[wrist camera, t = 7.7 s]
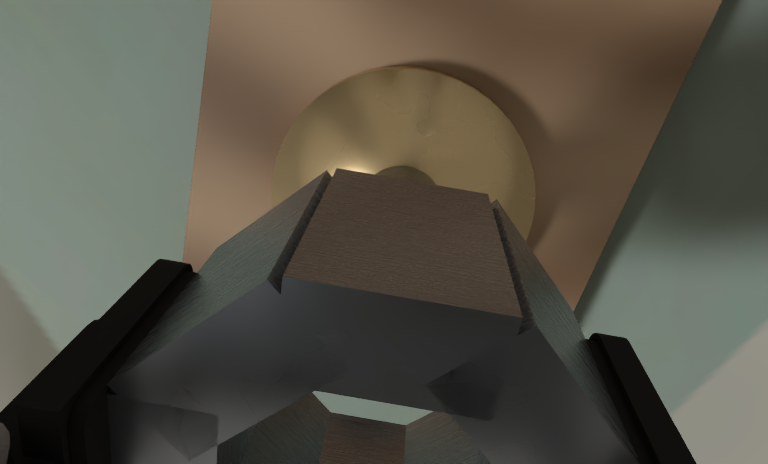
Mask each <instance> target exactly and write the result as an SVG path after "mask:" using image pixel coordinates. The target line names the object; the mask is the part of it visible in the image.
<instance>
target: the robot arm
mask: <svg viewBox="0 0 768 464" xmlns="http://www.w3.org/2000/svg"><path fill="white" fill-rule="evenodd" d="M195 275H196V272H193V268H192V265H191V264H188V263H182V262H176V261H171V260H165V259H159V260H157V261H156V262H155V263H154V264H153V265H152V266H151V267H150V268H149V269H148V270H147V271H146V272H145V273H144V274H143V275H142V276H141V277H140V278H139V279H138V280H137V281H136V282H135V283H134V284H133V285H132V286H131V288H130V289H129V290H128V291H127V292H126V293H125V294H124V295H123V296H122V297H121V298H120V299H119V300H118V301H117V302H116V303H115V304H114V305H113V306H112V307H111V308H110V309H109V310H108V311H107V312H106V313H105V314H104V315H103V316H102V317H101V318H100V319H98V320H94V321H92V322H91V323H90V324H88V325H87V326H86V327H85V328H84V329H83V330H82V331H81V332H80V333H79V334H78V335H77V336H76V337H75V338H74V339H73V340H72V341H71V342H70V343H69V344H68V345H67V346H66V347H65V348H64V349H63V350H62V351H61V352H60V353H59V354H58V355H57V356H56V357H55V358H54V359H53V360H52V361H51V362H50V363H49V364H48V365H47V366H46V367H45V368H44V369H43V370H42V371H41V372H40V373H39V374H38V375H37V376H36V377H35V378H34V379H33V380H32V381H31V383H29V384H28V385H27V386H26V387H25V388H24V389H23V390H22V391H21V392H20V393H19V394H18V395H17V396H16V397H15V398H14V399H13V401H11V402H10V403H9V404H8V405H7V406H6V407H5V408H4V409H3V410H2V411H1V412H0V464H112V461H111V447H110V432H109V418H108V404H107V395H108V393H109V392H110V391H111V390H112V389H111V388H110V387H109V386H107V384H108V383H109V382H110V380H111V379H112V378H113V377H114V375H115V374H116V373H117V372H118V370H119V369H120V368H121V367H122V365H123V364H124V363H125V362H126V360H127V359H128V358H129V357H130V355H131V354H132V353H133V352H134V350H135V349H136V348H137V347H138V345H139V344H140V343H141V342H142V341H143V339H144V338H145V337H146V336H147V334H148V333H149V332H150V331H151V329H152V328H153V327H154V326H155V324H156V323H157V322H158V321H159V319H160V318H161V317H162V316H163V314H164V313H165V312H166V311H167V309H168V308H169V307H170V306H171V304H172V303H173V302H174V301H175V299H176V298H177V297H178V296H179V294H180V293H181V292H182V291H183V289H184V288H185V287H186V286H187V285H188V283H189V282H190V281H191V280H192V278H193V277H194V276H195ZM586 342H587V344H588V346H589V349H590V351H591V353H592V355H593V358H594V360H595V362H596V364H597V367H598V369H599V371H600V374H601V376H602V378H603V380H604V383H605V385H606V387H607V390H608V392H609V394H610V396H611V399H612V401H613V403H614V405H615V408H616V410H617V412H618V415H619V417H620V419H621V421H622V424H623V426H624V428H625V430H626V433H627V435H628V437H629V439H630V442H631V444H632V446H633V448H634V451H635V453H636V455H637V458H638V460H639V462H640V464H696V462H695V461H694V459H693V457H692V455H691V453H690V451H689V449H688V448H687V446H686V444H685V442H684V440H683V439H682V437H681V435H680V433H679V431H678V430H677V428H676V426H675V425H674V423H673V421H672V419H671V417H670V415H669V414H668V412H667V410H666V408H665V406H664V404H663V403H662V401H661V399H660V397H659V395H658V393H657V392H656V390H655V388H654V386H653V384H652V383H651V381H650V379H649V377H648V375H647V373H646V372H645V370H644V368H643V366H642V364H641V363H640V361H639V359H638V357H637V355H636V353H635V352H634V350H633V348H632V346H631V344H630V343H629V341H628V340H627V339H626V338H623V337H617V336H611V335H605V334H599V333H594V334H592V335H591V337H590V338H589V339H586Z"/></svg>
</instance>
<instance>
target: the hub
mask: <svg viewBox="0 0 768 464" xmlns="http://www.w3.org/2000/svg"><path fill="white" fill-rule="evenodd" d="M337 168H340V169H345V170H351V171H357V172H363V173H369V174H375V175H380V176H386V177H392V178H398V179H404V180H410V181H415V182H421V183H427V184H433V185H439V186H445V187H450V188H456V189H462V190H468V191H474V192H479V193H485V194H488V196H489V199H490V203H491V202H493V201H495V200H496V199H497V200H498V202H499V203H500V205H501V206H502V208H503V209H504V211H505V212H506V214H507V215H508V216H509V218H510V219H511V221H512V222H513V224H514V225H515V227H516V228H517V230H518V231H519V232H520V234H521V235H522V237H523V238H524V240H525V241H526V240H527V237H528V234H529V231H530V228H531V225H532V221H533V216H534V210H535V195H536V189H535V180H534V173H533V169H532V165H531V161H530V157H529V155H528V152H527V150H526V148H525V145H524V143H523V141H522V139H521V137H520V135H519V134H518V132H517V130H516V129H515V127H514V125H513V124H512V122H511V120H510V119H509V118H508V116H507V115H506V114H505V113H504V112H503V110H502V109H501V108H500V107H499V106H498V105H497V104H496V103H495V102H494V101H493V100H492V99H491V98H490V97H489V96H488V95H487V94H485V93H484V92H482V91H481V90H479V89H478V88H477V87H475V86H474V85H472V84H470V83H468V82H467V81H465V80H463V79H461V78H459V77H457V76H454V75H451V74H449V73H446V72H443V71H440V70H436V69H431V68H426V67H422V66H408V65H398V66H384V67H379V68H374V69H370V70H366V71H363V72H360V73H357V74H354V75H352V76H349V77H347V78H345V79H343V80H342V81H340V82H338V83H336V84H334V85H333V86H331V87H330V88H328V89H327V90H326V91H324V92H323V93H321V94H320V95H319V96H318V97H317V98H316V99H315V100H314V101H313V102H312V103H311V104H309V105H308V106H307V107H306V108H305V109H304V111H303V112H302V113H301V114H300V115H299V117H298V118H297V119H296V120H295V122H294V123H293V124H292V126H291V127H290V129H289V131H288V133H287V134H286V136H285V138H284V139H283V142H282V144H281V147H280V149H279V152H278V154H277V158H276V161H275V165H274V169H273V177H272V205H273V208H274V207H275V206H277V205H278V204H280V203H281V202H282V201H284V200H285V199H287V198H288V197H289V196H291V195H292V194H294V193H295V192H297V191H298V190H299V189H301V188H302V187H304V186H305V185H306V184H308V183H309V182H311V181H312V180H314V179H315V178H316V177H318V176H319V175H321V174H322V173H323V172H325V171H326V170H327V171H328V172H329V174H330V175H331V176H332V177H333V175H334V173H335V171H336V169H337Z"/></svg>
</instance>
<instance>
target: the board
mask: <svg viewBox="0 0 768 464" xmlns="http://www.w3.org/2000/svg"><path fill="white" fill-rule="evenodd" d="M721 2H722V0H212V9H211V17H210V26H209V35H208V44H207V52H206V61H205V70H204V79H203V87H202V96H201V105H200V114H199V122H198V131H197V140H196V149H195V157H194V166H193V175H192V184H191V192H190V201H189V210H188V219H187V227H186V236H185V245H184V254H183V262H182V263H188V264H191V265H192V268H193V272H196V273H197V272H198V271H199V270H200V268H201V267H202V266H203V265H204V263H205V262H206V261H207V260H208V258H209V257H210V256H211V255H212V253H213V252H214V251H215V250H216V248H217V247H219V246H220V245H222V244H223V243H224V242H226V241H227V240H229V239H230V238H232V237H233V236H234V235H236V234H237V233H239V232H240V231H241V230H243V229H244V228H246V227H247V226H248V225H250V224H251V223H253V222H254V221H256V220H257V219H258V218H260V217H261V216H263V215H264V214H265V213H267V212H268V211H270V210H271V209H273V205H272V177H273V169H274V165H275V161H276V158H277V154H278V152H279V149H280V147H281V144H282V142H283V139H284V138H285V136H286V134H287V133H288V131H289V129H290V127H291V126H292V124H293V123H294V122H295V120H296V119H297V118H298V117H299V115H300V114H301V113H302V112H303V111H304V109H305V108H306V107H307V106H308V105H309V104H311V103H312V102H313V101H314V100H315V99H316V98H317V97H318V96H319V95H320V94H321V93H323V92H324V91H326V90H327V89H328V88H330V87H331V86H333V85H334V84H336V83H338V82H340V81H342V80H343V79H345V78H347V77H349V76H352V75H354V74H357V73H360V72H363V71H366V70H370V69H374V68H379V67H384V66H398V65H408V66H422V67H426V68H431V69H436V70H440V71H443V72H446V73H449V74H451V75H454V76H457V77H459V78H461V79H463V80H465V81H467V82H468V83H470V84H472V85H474V86H475V87H477V88H478V89H479V90H481V91H482V92H484V93H485V94H487V95H488V96H489V97H490V98H491V99H492V100H493V101H494V102H495V103H496V104H497V105H498V106H499V107H500V108H501V109H502V110H503V112H504V113H505V114H506V115H507V116H508V118H509V119H510V120H511V122H512V124H513V125H514V127H515V129H516V130H517V132H518V134H519V135H520V137H521V139H522V141H523V143H524V145H525V148H526V150H527V152H528V155H529V157H530V161H531V165H532V169H533V173H534V180H535V189H536V195H535V210H534V216H533V221H532V225H531V228H530V231H529V234H528V237H527V240H526V243H527V244H528V246H529V247H530V248H531V250H532V251H533V253H534V254H535V256H536V257H537V259H538V260H539V262H540V263H541V264H542V266H543V267H544V269H545V270H546V272H547V273H548V275H549V276H550V278H551V279H552V280H553V282H554V283H555V285H556V286H557V288H558V289H559V291H560V292H561V294H562V295H563V296H564V298H565V299H566V301H567V302H568V304H569V305H570V307H571V308H572V310H573V312H574V309H575V307H576V305H577V303H578V301H579V299H580V297H581V295H582V293H583V291H584V289H585V286H586V284H587V282H588V280H589V278H590V276H591V274H592V272H593V270H594V268H595V266H596V263H597V261H598V259H599V257H600V255H601V253H602V251H603V249H604V247H605V245H606V243H607V240H608V238H609V236H610V234H611V232H612V230H613V228H614V226H615V224H616V222H617V220H618V217H619V215H620V213H621V211H622V209H623V207H624V205H625V203H626V201H627V199H628V197H629V194H630V192H631V190H632V188H633V186H634V184H635V182H636V180H637V178H638V176H639V174H640V171H641V169H642V167H643V165H644V163H645V161H646V159H647V157H648V155H649V153H650V151H651V148H652V146H653V144H654V142H655V140H656V138H657V136H658V134H659V132H660V130H661V127H662V125H663V123H664V121H665V119H666V117H667V115H668V113H669V111H670V109H671V107H672V104H673V102H674V100H675V98H676V96H677V94H678V92H679V90H680V88H681V86H682V84H683V81H684V79H685V77H686V75H687V73H688V71H689V69H690V67H691V65H692V63H693V61H694V58H695V56H696V54H697V52H698V50H699V48H700V46H701V44H702V42H703V40H704V38H705V35H706V33H707V31H708V29H709V27H710V25H711V23H712V21H713V19H714V17H715V15H716V12H717V10H718V8H719V6H720V4H721Z"/></svg>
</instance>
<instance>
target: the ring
mask: <svg viewBox="0 0 768 464" xmlns="http://www.w3.org/2000/svg"><path fill="white" fill-rule="evenodd" d="M107 386H109V387H110V388H111V389H112V390H111V391H110V392H109V393H108V395H107V404H108V418H109V432H110V447H111V461H112V464H640V462H639V460H638V458H637V455H636V453H635V451H634V448H633V446H632V444H631V442H630V439H629V437H628V435H627V433H626V430H625V428H624V426H623V424H622V421H621V419H620V417H619V415H618V412H617V410H616V408H615V405H614V403H613V401H612V399H611V396H610V394H609V392H608V390H607V387H606V385H605V383H604V380H603V378H602V376H601V374H600V371H599V369H598V367H597V364H596V362H595V360H594V358H593V355H592V353H591V351H590V349H589V346H588V344H587V342H586V339H585V337H584V335H583V333H582V330H581V328H580V326H579V324H578V321H577V319H576V317H575V314H574V312H573V310H572V308H571V307H570V305H569V304H568V302H567V301H566V299H565V298H564V296H563V295H562V294H561V292H560V291H559V289H558V288H557V286H556V285H555V283H554V282H553V280H552V279H551V278H550V276H549V275H548V273H547V272H546V270H545V269H544V267H543V266H542V264H541V263H540V262H539V260H538V259H537V257H536V256H535V254H534V253H533V251H532V250H531V248H530V247H529V246H528V244H527V243H526V241H525V240H524V238H523V237H522V235H521V234H520V232H519V231H518V230H517V228H516V227H515V225H514V224H513V222H512V221H511V219H510V218H509V216H508V215H507V214H506V212H505V211H504V209H503V208H502V206H501V205H500V203H499V202H498V200H497V199H496V200H495V201H493V202H491V203H490V199H489V196H488V194H485V193H479V192H474V191H468V190H462V189H456V188H450V187H445V186H439V185H433V184H427V183H421V182H415V181H410V180H404V179H398V178H392V177H386V176H380V175H375V174H369V173H363V172H357V171H351V170H345V169H340V168H337V169H336V171H335V173H334V175H333V177H332V176H331V175H330V174H329V172H328V171H327V170H326V171H325V172H323V173H322V174H321V175H319V176H318V177H316V178H315V179H314V180H312V181H311V182H309V183H308V184H306V185H305V186H304V187H302V188H301V189H299V190H298V191H297V192H295V193H294V194H292V195H291V196H289V197H288V198H287V199H285V200H284V201H282V202H281V203H280V204H278V205H277V206H275V207H274V208H273V209H271V210H270V211H268V212H267V213H265V214H264V215H263V216H261V217H260V218H258V219H257V220H256V221H254V222H253V223H251V224H250V225H248V226H247V227H246V228H244V229H243V230H241V231H240V232H239V233H237V234H236V235H234V236H233V237H232V238H230V239H229V240H227V241H226V242H224V243H223V244H222V245H220V246H219V247H217V248H216V250H215V251H214V252H213V253H212V255H211V256H210V257H209V258H208V260H207V261H206V262H205V263H204V265H203V266H202V267H201V268H200V270H199V271H198V272H197V273H196V275H195V276H194V277H193V278H192V280H191V281H190V282H189V283H188V285H187V286H186V287H185V288H184V289H183V291H182V292H181V293H180V294H179V296H178V297H177V298H176V299H175V301H174V302H173V303H172V304H171V306H170V307H169V308H168V309H167V311H166V312H165V313H164V314H163V316H162V317H161V318H160V319H159V321H158V322H157V323H156V324H155V326H154V327H153V328H152V329H151V331H150V332H149V333H148V334H147V336H146V337H145V338H144V339H143V341H142V342H141V343H140V344H139V345H138V347H137V348H136V349H135V350H134V352H133V353H132V354H131V355H130V357H129V358H128V359H127V360H126V362H125V363H124V364H123V365H122V367H121V368H120V369H119V370H118V372H117V373H116V374H115V375H114V377H113V378H112V379H111V380H110V382H109V383H108V384H107ZM313 391H321V392H327V393H333V394H338V395H344V396H350V397H356V398H362V399H367V400H373V401H379V402H385V403H390V404H396V405H402V406H408V407H414V408H419V409H425V410H431V411H434V412H432V413H430V414H428V415H426V416H424V417H422V418H420V419H418V420H416V421H414V422H412V423H410V424H408V425H400V424H394V423H389V422H383V421H377V420H371V419H366V418H360V417H354V416H348V415H343V414H337V413H331V412H330V411H329V410H328V409H327V408H326V407H325V406H324V405H323V404H322V403H321V402H320V401H319V400H318V398H317V397H316V396H315V395H314V394H313V393H312V392H313Z"/></svg>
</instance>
